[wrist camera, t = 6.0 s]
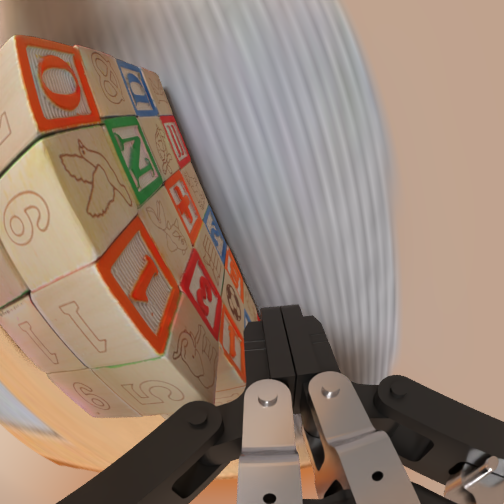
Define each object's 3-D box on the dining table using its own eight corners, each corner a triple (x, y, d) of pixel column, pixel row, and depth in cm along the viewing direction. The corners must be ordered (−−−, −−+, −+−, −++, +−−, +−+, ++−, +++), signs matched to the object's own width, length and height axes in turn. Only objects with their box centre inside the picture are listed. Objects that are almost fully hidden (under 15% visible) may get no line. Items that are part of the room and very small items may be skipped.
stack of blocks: (270, 334, 23) (285, 473, 12) (203, 350, 24) (190, 480, 13) (157, 71, 13) (10, 26, 2) (77, 118, 14) (-79, 165, 3)
